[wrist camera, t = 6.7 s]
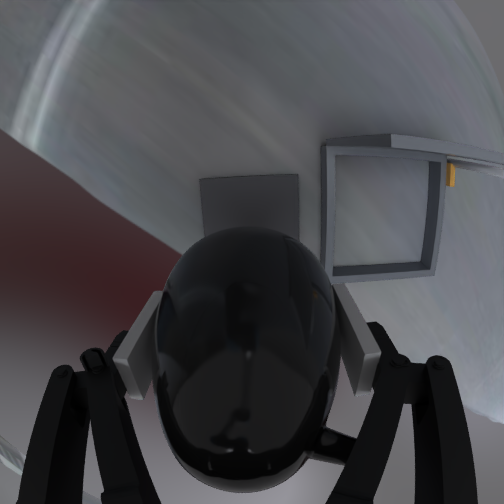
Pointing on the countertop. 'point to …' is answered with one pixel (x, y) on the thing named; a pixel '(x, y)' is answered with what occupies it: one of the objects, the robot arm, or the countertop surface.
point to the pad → (251, 203)
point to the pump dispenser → (248, 360)
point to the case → (438, 179)
